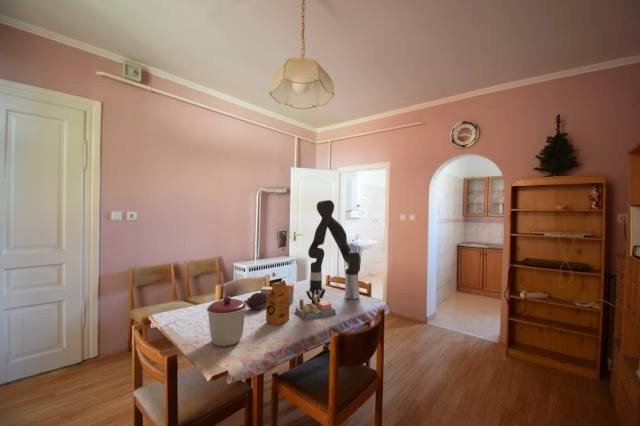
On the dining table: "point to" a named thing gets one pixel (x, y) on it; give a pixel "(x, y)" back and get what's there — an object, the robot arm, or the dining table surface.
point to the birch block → (307, 307)
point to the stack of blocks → (289, 285)
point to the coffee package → (278, 304)
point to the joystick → (322, 305)
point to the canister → (226, 321)
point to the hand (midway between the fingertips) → (315, 305)
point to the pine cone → (256, 300)
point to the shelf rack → (315, 313)
